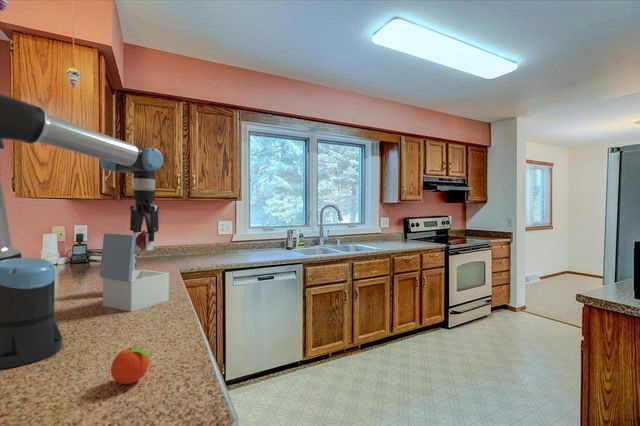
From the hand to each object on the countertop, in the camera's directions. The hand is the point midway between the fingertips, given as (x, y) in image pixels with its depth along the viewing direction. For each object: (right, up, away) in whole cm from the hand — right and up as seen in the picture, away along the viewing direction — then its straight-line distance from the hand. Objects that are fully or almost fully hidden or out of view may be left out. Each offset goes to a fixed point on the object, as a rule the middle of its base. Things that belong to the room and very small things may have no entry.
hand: (143, 249), depth 124 cm
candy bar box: (-18, -21, +14) cm, 31 cm away
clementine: (+29, -22, -57) cm, 67 cm away
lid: (-5, -2, -7) cm, 9 cm away
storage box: (-3, -21, 0) cm, 21 cm away
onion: (0, -1, 0) cm, 1 cm away
